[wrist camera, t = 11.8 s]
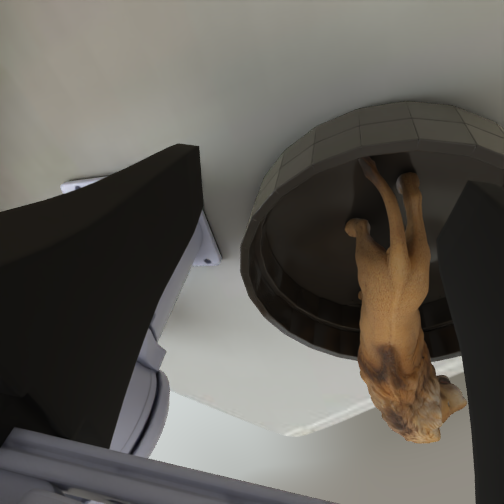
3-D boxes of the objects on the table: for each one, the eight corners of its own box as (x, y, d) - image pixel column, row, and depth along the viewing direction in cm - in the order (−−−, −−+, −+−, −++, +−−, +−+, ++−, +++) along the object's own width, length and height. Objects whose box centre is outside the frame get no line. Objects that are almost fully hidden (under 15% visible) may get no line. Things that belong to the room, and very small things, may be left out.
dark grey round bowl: (279, 310, 29) (270, 358, 26) (226, 125, 19) (201, 166, 16) (500, 311, 24) (524, 370, 21) (585, 67, 14) (655, 108, 11)
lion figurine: (444, 321, 25) (480, 458, 18) (367, 329, 27) (375, 453, 21) (413, 132, 17) (457, 256, 10) (307, 164, 19) (288, 284, 12)
